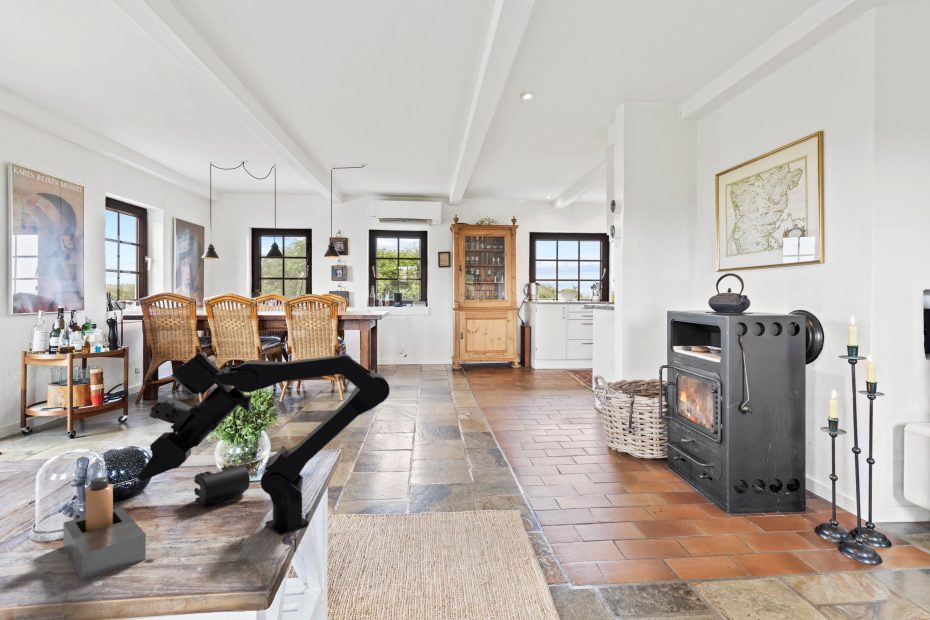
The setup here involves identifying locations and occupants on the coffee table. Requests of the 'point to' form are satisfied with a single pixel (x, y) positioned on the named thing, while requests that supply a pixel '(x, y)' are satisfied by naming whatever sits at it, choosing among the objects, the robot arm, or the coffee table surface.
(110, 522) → the plug
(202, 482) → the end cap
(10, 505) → the coffee table surface
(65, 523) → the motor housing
